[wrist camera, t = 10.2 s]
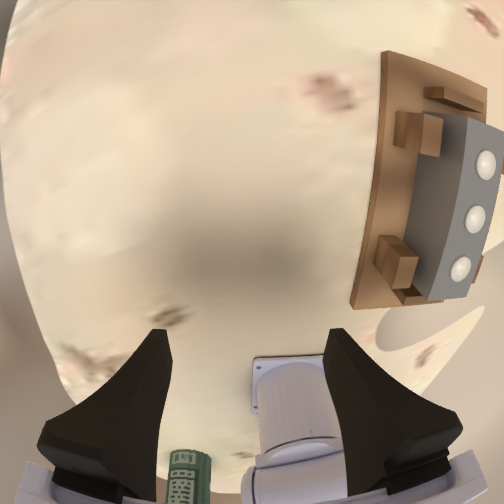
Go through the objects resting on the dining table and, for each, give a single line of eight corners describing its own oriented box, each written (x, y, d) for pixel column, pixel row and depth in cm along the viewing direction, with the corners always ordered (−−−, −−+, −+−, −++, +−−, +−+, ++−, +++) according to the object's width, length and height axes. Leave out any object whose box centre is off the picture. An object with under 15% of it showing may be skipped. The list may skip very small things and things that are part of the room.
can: (181, 464, 39) (175, 540, 25) (165, 449, 36) (155, 534, 22) (215, 463, 38) (214, 542, 25) (202, 449, 35) (198, 538, 22)
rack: (438, 296, 24) (461, 324, 20) (349, 302, 24) (367, 337, 20) (479, 88, 16) (516, 91, 12) (381, 52, 15) (414, 41, 11)
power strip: (433, 264, 22) (467, 299, 17) (396, 265, 21) (429, 303, 17) (461, 123, 16) (509, 133, 12) (422, 111, 16) (471, 117, 11)
